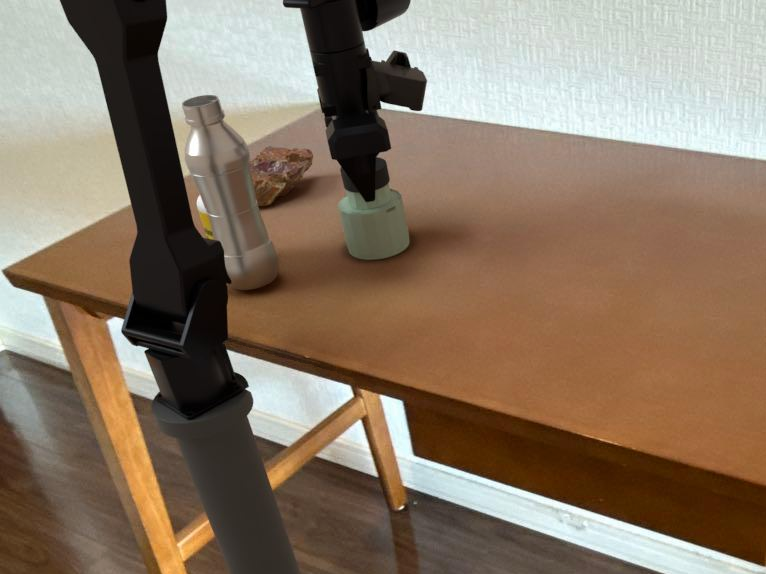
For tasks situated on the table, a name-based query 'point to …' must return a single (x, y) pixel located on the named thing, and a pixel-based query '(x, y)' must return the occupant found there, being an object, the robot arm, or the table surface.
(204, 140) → the plastic bottle
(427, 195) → the table surface
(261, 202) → the mineral specimen
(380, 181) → the stopper
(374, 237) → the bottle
